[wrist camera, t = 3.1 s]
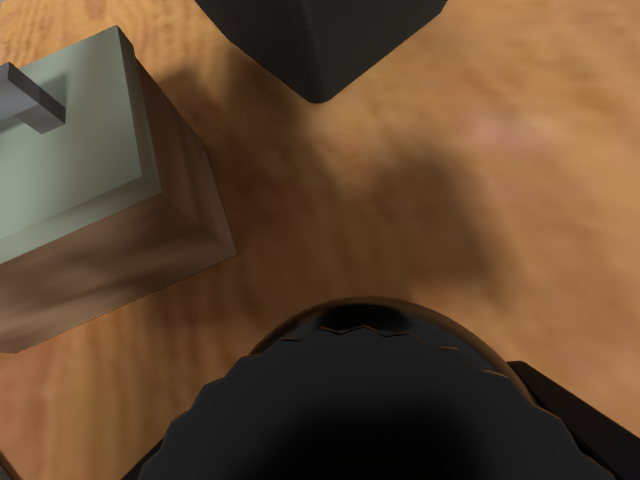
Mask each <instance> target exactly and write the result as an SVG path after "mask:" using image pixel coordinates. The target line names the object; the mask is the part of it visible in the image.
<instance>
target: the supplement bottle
mask: <svg viewBox="0 0 640 480" xmlns="http://www.w3.org/2000/svg"><path fill="white" fill-rule="evenodd" d="M137 480H616V479H615V477H614V476H613V475H612V474H611V473H610V472H609V471H607V470H606V469H605V468H604V467H602V466H601V465H600V464H598V463H597V462H596V461H594V460H593V459H592V458H590V457H589V456H587V455H585V454H583V453H582V452H581V451H580V449H579V448H578V446H577V445H576V443H575V441H574V438H573V436H572V434H571V433H570V431H569V430H568V428H567V427H566V426H565V424H564V423H563V421H562V420H561V419H560V418H559V417H557V416H556V415H554V414H552V413H550V412H548V411H546V410H544V409H542V408H541V407H540V406H539V404H538V403H537V401H536V399H535V398H534V396H533V395H532V394H531V392H530V391H529V389H528V388H527V387H526V385H525V384H524V383H523V381H522V380H521V379H520V378H519V376H518V375H517V374H516V373H515V372H514V371H513V369H512V368H511V367H510V366H509V365H508V364H507V363H506V362H505V361H504V360H503V359H502V358H501V357H500V356H499V355H498V354H497V353H496V352H495V351H494V350H493V349H492V348H491V347H490V346H488V345H487V344H486V343H485V342H484V341H482V340H481V339H480V338H479V337H478V336H476V335H475V334H473V333H472V332H470V331H469V330H468V329H466V328H465V327H463V326H462V325H460V324H459V323H457V322H455V321H453V320H452V319H450V318H448V317H446V316H444V315H442V314H440V313H438V312H436V311H434V310H432V309H429V308H426V307H424V306H421V305H418V304H415V303H412V302H408V301H404V300H400V299H394V298H389V297H379V296H354V297H346V298H340V299H335V300H330V301H327V302H324V303H321V304H317V305H315V306H312V307H310V308H308V309H305V310H303V311H301V312H299V313H297V314H296V315H294V316H292V317H290V318H288V319H287V320H286V321H284V322H283V323H281V324H280V325H278V326H277V327H276V328H274V329H273V330H272V331H271V332H270V333H269V334H267V335H266V336H265V337H264V338H263V339H262V340H261V341H260V342H259V343H258V344H257V345H256V346H255V347H254V348H253V349H252V351H251V352H250V353H249V354H248V356H243V357H241V358H240V359H239V360H238V361H237V362H236V363H235V364H234V365H233V367H232V368H231V369H230V370H229V372H228V373H227V375H226V376H225V377H224V378H220V379H217V380H215V381H212V382H210V383H208V384H206V385H205V386H204V387H203V388H202V390H201V391H200V393H199V394H198V396H197V398H196V399H195V401H194V403H193V405H192V407H191V409H190V410H188V411H186V412H184V413H183V414H181V415H180V416H178V417H177V418H176V419H174V420H173V421H172V422H171V423H170V425H169V427H168V430H167V432H166V434H165V436H164V439H163V442H162V444H161V447H160V449H159V450H158V451H157V452H156V453H155V454H154V455H152V456H151V457H150V458H149V459H148V460H147V461H146V462H145V463H144V464H143V465H142V467H141V469H140V473H139V476H138V479H137Z"/></svg>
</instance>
